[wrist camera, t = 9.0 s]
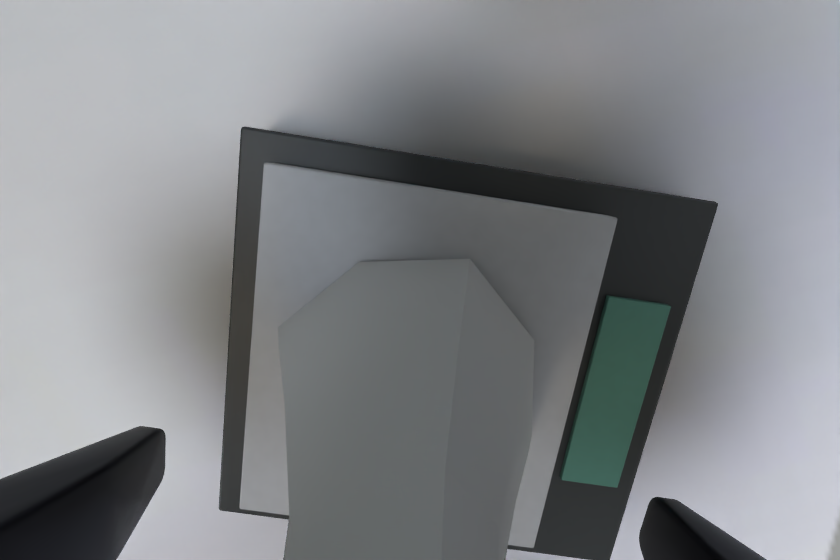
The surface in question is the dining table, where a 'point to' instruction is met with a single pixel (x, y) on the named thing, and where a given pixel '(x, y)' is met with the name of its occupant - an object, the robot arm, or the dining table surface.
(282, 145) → the scale
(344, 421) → the flask
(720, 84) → the dining table surface
